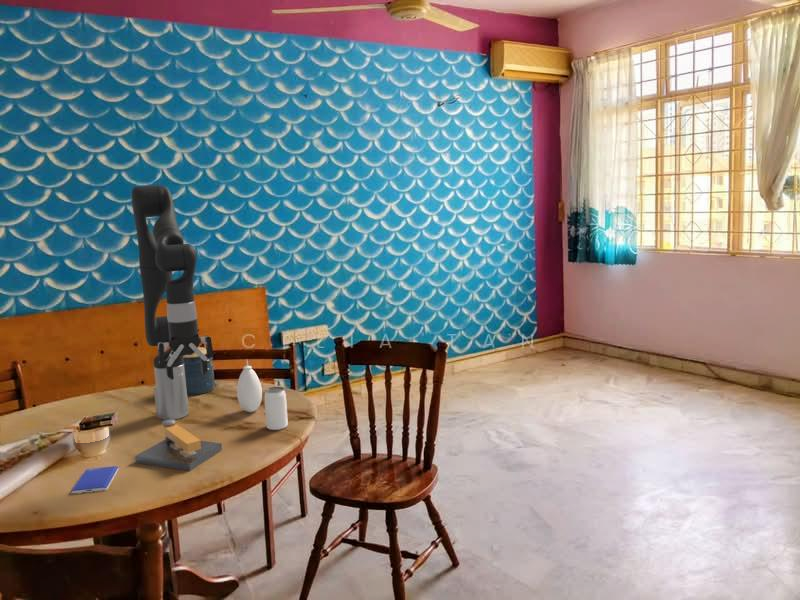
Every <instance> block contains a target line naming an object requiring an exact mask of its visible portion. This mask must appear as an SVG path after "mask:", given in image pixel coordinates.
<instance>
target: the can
mask: <svg viewBox="0 0 800 600" xmlns="http://www.w3.org/2000/svg"><path fill="white" fill-rule="evenodd" d="M264 391H265V392H264V409H265V423H266V428H267V429H268V430H270V431H281V430H284V429H286V428H287V426H288V425H289V423H288V422H289V421H288V405H287V394H286V391H285V388H284V387H282V386H271V387H267V388H266V389H265V390H264Z"/></svg>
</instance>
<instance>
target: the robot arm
mask: <svg viewBox="0 0 800 600" xmlns="http://www.w3.org/2000/svg"><path fill="white" fill-rule="evenodd" d="M131 205H132V212H133V218H134V225H135V229H136V236H137V247H138V260H139V261H138V262H139V263H138V264H139V272H140V280H141V287H142V288H141V289H142V295H143V306H144V308H143V310H144V311H143V312H144V332H145V338H146V342H147V344H148V346H150V347H157V355H156V356H155V357H154V358H153V371H154V379H155V386H156V387H155V388H154V389H153V392H154V393H153V394H154V402H155V411H156V417H157V418H159V419H160V420H163V421H165V420H170V419H173V420H178V419H181V418H184V417H187V416H188V415H189V413H190V411H189V410H190V409H189V402H188V401H189V400H188V395H187V388H186V378H185V368H184V359H183V356H185V355H192V354H193V353H194V352H195V353H196V354H197V355H198V356H199V357H200V358H201V360H200V363H201V373H202V374H206V372H207V370H208V368H207V360H208V359H209V358H212V357H214V349H213V343H212V342H213V341H212V338H211V337H210V336H209V335H204V336H201V337H200V335H199V326H198V315H197V307H196V303H195V293H194V279H195V271H196V267H197V262H198V252H197V249H196V248H195V246H194V245H193V244H190V243H185V242H184V238H183V235H182V232H181V231H180V228H179V225H178V222H177V221H178V220H177V216H176V211H175V204H174V201H173V197H172V192H171V191H170V189H169V188H168V186H167V185H161V184H160V185H159V184H158V185H156V184H155V185H138V186H137V185H136V186H134V187H133V188H132V189H131ZM154 217H155V218H158V219H156V220H155V222H154V224H153V227H152V231H151V229H150V228H149V225H148V222H147V218H154ZM180 271H183V272H182V274H181V276H180V277H177V278H176V279H173V272H180ZM164 294H165V296H166V298H165V299H166V315H165V316H156V314H157V309H158V307H159V304H160V302H161V299H162V298H163V296H164ZM201 342H202V344H204V345H205V349H206V351H207V353H206V354H203V353H202V352H201V351H200V350H199V349H198V347H200V344H201ZM168 347H169V348H168ZM167 348H168V349H167Z"/></svg>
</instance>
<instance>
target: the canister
mask: <svg viewBox="0 0 800 600" xmlns="http://www.w3.org/2000/svg"><path fill="white" fill-rule="evenodd" d="M198 349H199V350H200V351H201V352H202V353H203V354H206V353H207V351H206V347H203V346H201V347H200V346H198ZM213 357H214V356H213ZM213 357H212V358H209V359H208V360H207V368H208V370H207V372H206V374H202V373H201V363H200V360H201V358H200V357H199V356H198V355H197V354H196V353H195V352H194V353H193V354H192V355H185V356H183V359H184V368H185V378H186V388H187V396H195V395H196V396H197V395H202V394H207V393H209V392H212V391H213V390H214V389H215V388H216V387H215V385H216V381H215V374H214V372H215V371H214V364H213V363H212V360H213V359H214V358H213Z"/></svg>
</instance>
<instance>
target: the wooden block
mask: <svg viewBox="0 0 800 600" xmlns="http://www.w3.org/2000/svg"><path fill="white" fill-rule="evenodd" d="M161 425H162V426H163V430H164V436H165V439H166V441H173V442H175V443H176V444H177V445H179V446H180V447H181V448H183V449H184V450H185V451H187V452H188V453H189V452H192V451H195V450H199V449H201V442H200V441H201V439H199V438H198V437H196V436H195V435H193V434H192V433H191V432H189V431H188V430H186V429H184V428H183V426H180V425H179V424H178V423H176V419H170V420H163V421H161Z"/></svg>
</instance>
